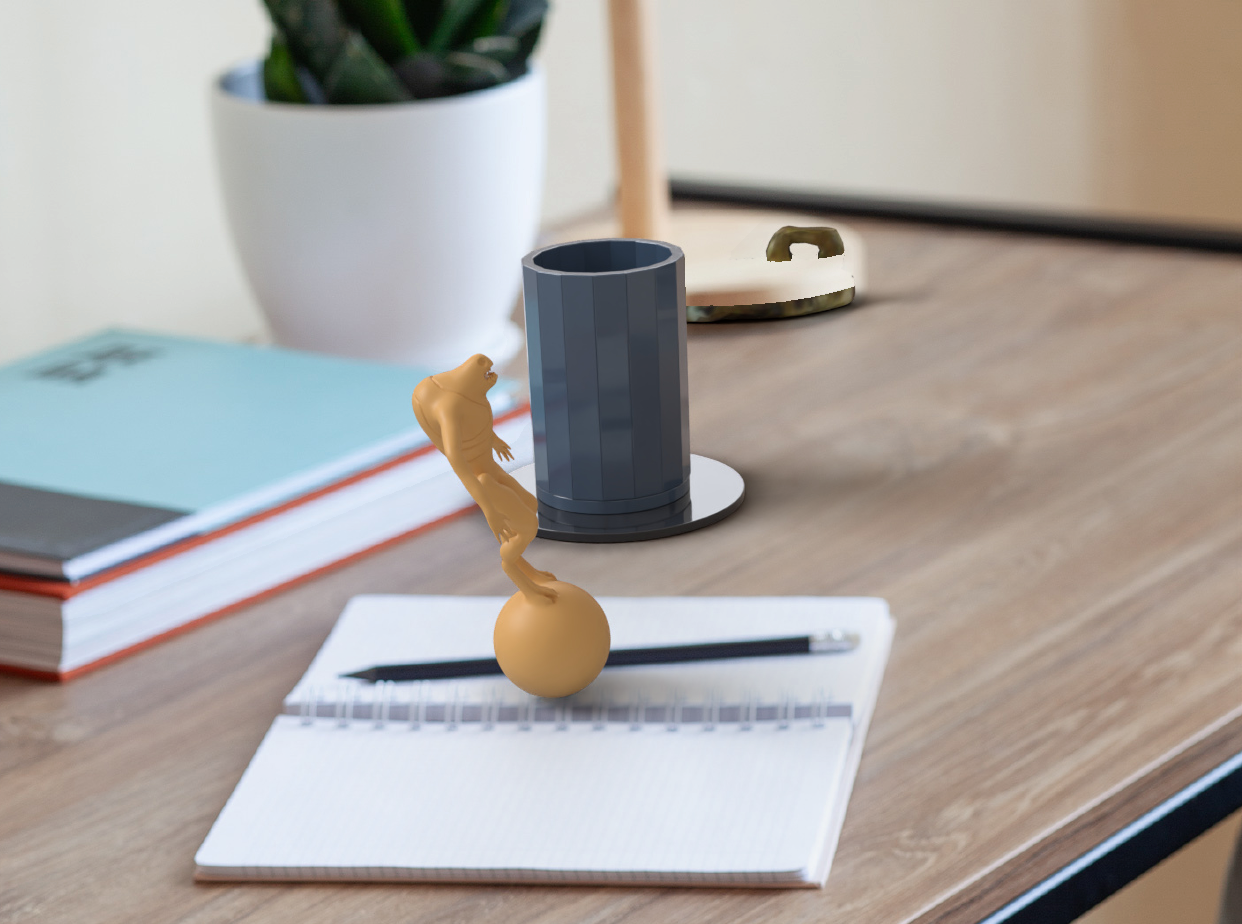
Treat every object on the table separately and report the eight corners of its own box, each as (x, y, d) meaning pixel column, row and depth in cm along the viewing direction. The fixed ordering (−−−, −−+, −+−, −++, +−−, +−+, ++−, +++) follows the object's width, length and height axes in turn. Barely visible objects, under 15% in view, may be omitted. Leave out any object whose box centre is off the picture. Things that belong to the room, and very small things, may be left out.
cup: (707, 468, 91) (701, 239, 87) (665, 519, 86) (657, 277, 81) (564, 460, 93) (552, 236, 89) (514, 509, 88) (498, 273, 84)
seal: (580, 342, 117) (851, 336, 114) (573, 261, 114) (850, 253, 111) (605, 283, 124) (859, 276, 122) (599, 206, 122) (858, 197, 119)
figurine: (618, 741, 68) (601, 383, 63) (433, 752, 68) (401, 395, 63) (608, 641, 75) (592, 314, 70) (441, 651, 75) (413, 325, 70)
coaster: (771, 463, 92) (771, 455, 92) (706, 550, 83) (706, 541, 83) (537, 451, 96) (537, 443, 96) (450, 533, 87) (449, 524, 87)
